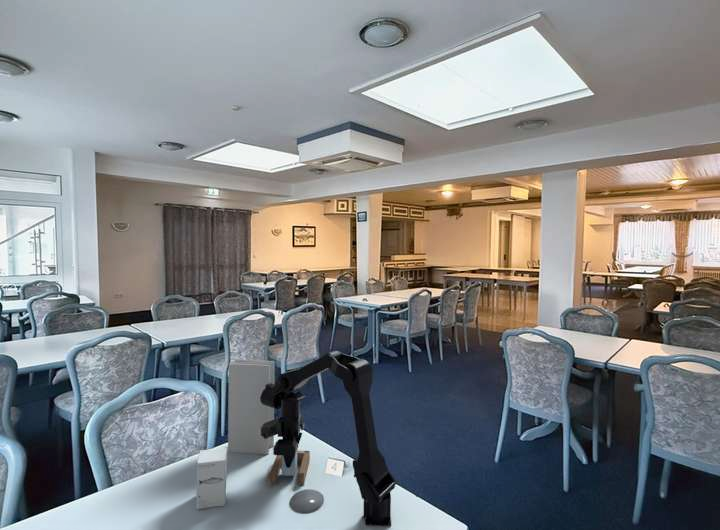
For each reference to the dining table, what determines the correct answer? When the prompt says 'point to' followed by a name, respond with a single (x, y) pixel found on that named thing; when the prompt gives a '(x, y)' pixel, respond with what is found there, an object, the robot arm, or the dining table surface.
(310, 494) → the coaster
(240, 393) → the tall grey box
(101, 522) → the dining table surface
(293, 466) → the block
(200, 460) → the supplement box
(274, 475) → the frame
